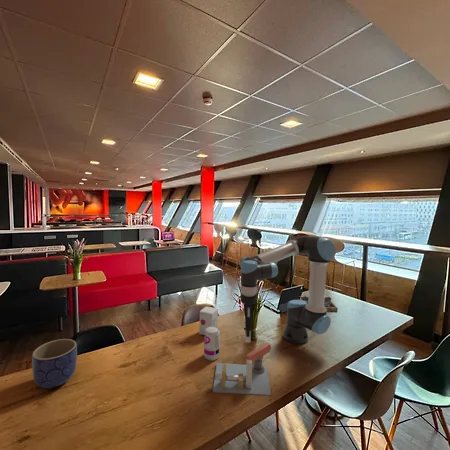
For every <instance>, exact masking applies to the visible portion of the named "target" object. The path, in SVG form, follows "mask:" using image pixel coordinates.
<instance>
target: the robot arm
mask: <svg viewBox="0 0 450 450" xmlns="http://www.w3.org/2000/svg"><path fill="white" fill-rule="evenodd" d="M336 252H337V251H336V245H335V243H334V242H333V240H331V239H330V238H326V237H322V236H314V235H301V236H297V237H295V238H292V239H289V240H287V242H286V243H284V244H282V245H279V246H276V247H274V248H271V249H269V250H266V251H264V252H262V253H259V254H256V255H253V256H250V257H249V256H244V257H242V258H241V259H240V260H239V261H240V262H239V267H240V286H238V287H239V289H240V302H241V303H242V304H243V309H244V321H245V322H244V324H245V325H244V327H243V330H244V343H251V339H252V338H251V336H252V328H253V325H252V316H253V312H254V311H253V305H255V304H256V303H257V297H258V295H257V293H258V281H261V280H267V279H272V278H275V277H277V275H278V274H279V267H278V265H277V262H280V261H281V260H284V259H286V258H289V257H291V256H293V257H294V256H295V257H296V256H298V255H304V256H307V260H308V262H309V263H310V267H309V283H308V284H309V285H308V295H309V298H308V304H307V302H306V301H304V300H299V299H292V300H289V301H288V302H287V307H286V324H285V326H284V329H283V332H282V336H283V338H284V339H285V340H286V341H288V342H290V343H293V344H299V345H302V344H306V343H307V342H309V334H308V330H309V331H311V332H312V333H314V334H317V335H323V334H325V333H326V332H327V331H328V330H329V328H330V326H331V324H332V323H331V321H332V320H331V317H330V316H329V315H328V314H327V313H328V311H327V309H326V308H325V307H326V306H325V307H324V300H325V296H326V282H327V281H326V280H327V268H328V264H331V263H330V262H331V260H333V259H334V258H335V256H336Z"/></svg>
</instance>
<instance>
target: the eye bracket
mask: <svg viewBox="0 0 450 450" xmlns="http://www.w3.org/2000/svg"><path fill="white" fill-rule="evenodd" d="M226 364H227V363H226ZM226 364H223V368H222V389H223V390H225V385H226ZM239 376H243V373H239ZM238 390H243V379H239V382H238Z"/></svg>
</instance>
